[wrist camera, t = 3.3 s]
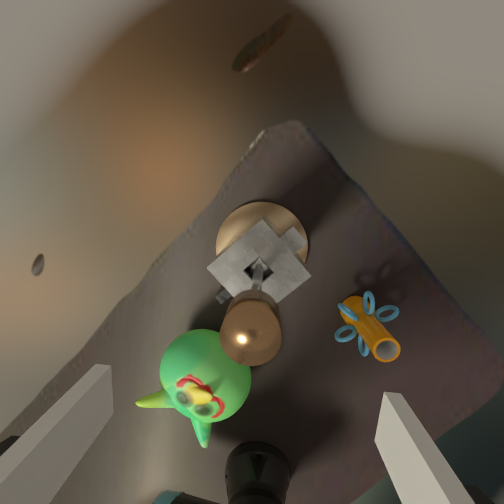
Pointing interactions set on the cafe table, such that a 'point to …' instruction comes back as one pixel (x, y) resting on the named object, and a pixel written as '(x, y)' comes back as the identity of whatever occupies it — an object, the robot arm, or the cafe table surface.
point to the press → (272, 253)
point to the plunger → (252, 322)
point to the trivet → (250, 213)
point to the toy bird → (200, 381)
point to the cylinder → (369, 327)
